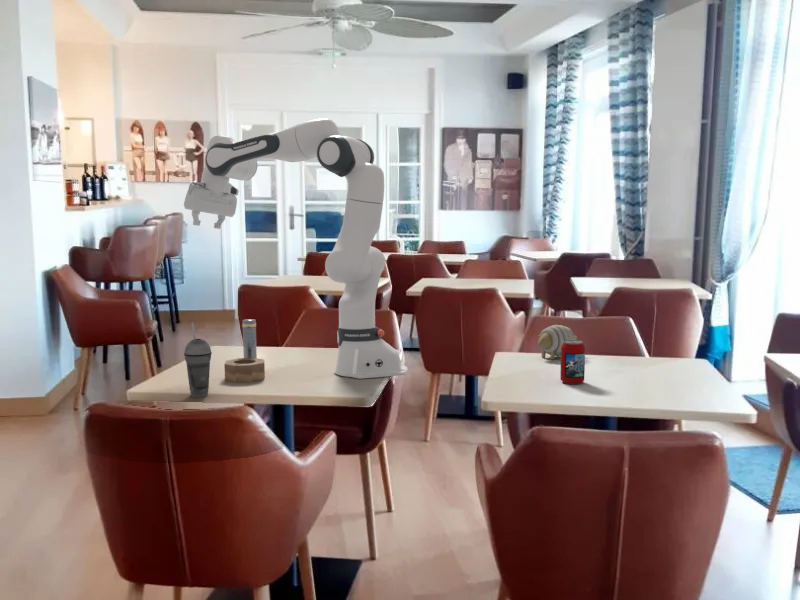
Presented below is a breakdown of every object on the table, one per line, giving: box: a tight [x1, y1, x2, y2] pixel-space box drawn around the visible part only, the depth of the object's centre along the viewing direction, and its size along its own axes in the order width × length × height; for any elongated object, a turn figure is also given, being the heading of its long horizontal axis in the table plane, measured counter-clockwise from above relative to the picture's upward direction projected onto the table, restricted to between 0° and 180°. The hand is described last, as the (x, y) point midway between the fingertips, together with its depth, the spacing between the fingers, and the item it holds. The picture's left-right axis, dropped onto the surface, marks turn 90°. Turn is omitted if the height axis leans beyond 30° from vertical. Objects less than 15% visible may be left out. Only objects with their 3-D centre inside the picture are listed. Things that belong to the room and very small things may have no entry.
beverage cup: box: [183, 322, 213, 398], centre depth 206 cm, size 7×7×20 cm
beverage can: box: [560, 339, 586, 385], centre depth 219 cm, size 7×7×12 cm
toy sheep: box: [537, 324, 578, 361], centre depth 257 cm, size 11×17×11 cm, turn 127°
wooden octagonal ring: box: [224, 357, 266, 383], centre depth 228 cm, size 12×12×5 cm
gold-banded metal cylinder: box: [241, 318, 258, 358], centre depth 238 cm, size 4×4×16 cm
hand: (206, 227), depth 251 cm, fingers open, 8 cm apart
